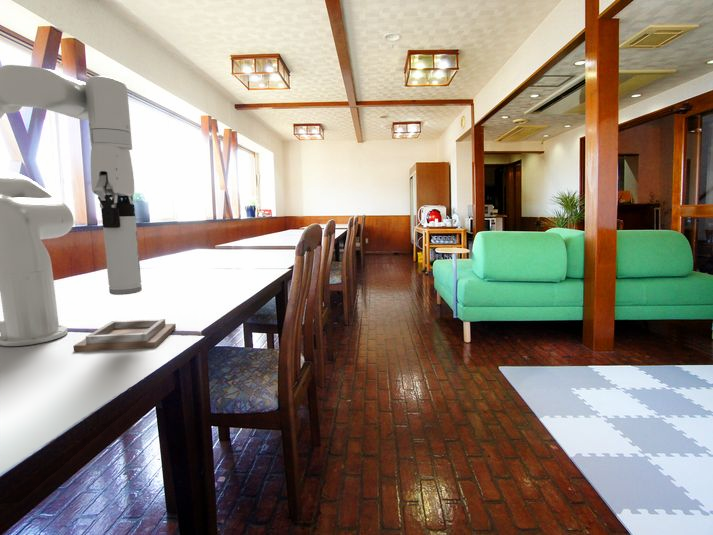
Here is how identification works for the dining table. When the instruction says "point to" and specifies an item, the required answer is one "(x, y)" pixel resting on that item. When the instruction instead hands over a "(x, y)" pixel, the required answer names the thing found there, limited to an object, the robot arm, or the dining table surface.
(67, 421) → the dining table surface
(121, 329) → the plate
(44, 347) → the dining table surface
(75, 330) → the dining table surface
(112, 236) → the travel mug
